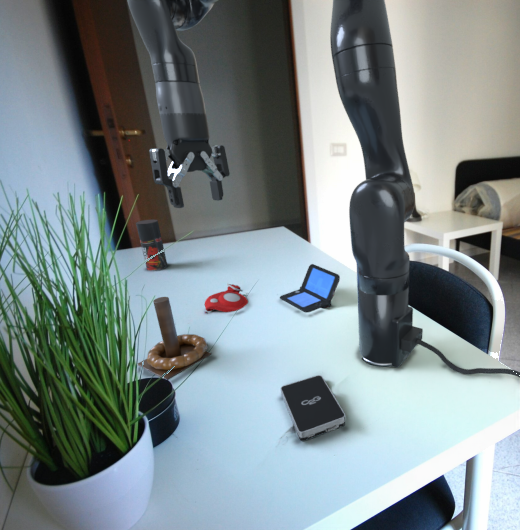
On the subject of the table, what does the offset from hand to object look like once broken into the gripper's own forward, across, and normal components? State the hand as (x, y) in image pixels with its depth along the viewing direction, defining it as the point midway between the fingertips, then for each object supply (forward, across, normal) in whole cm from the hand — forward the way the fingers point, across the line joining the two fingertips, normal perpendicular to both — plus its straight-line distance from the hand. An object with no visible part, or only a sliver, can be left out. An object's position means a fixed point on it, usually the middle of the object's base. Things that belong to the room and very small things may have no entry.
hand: (199, 203), depth 71 cm
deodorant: (+28, +17, +52) cm, 61 cm away
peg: (+28, -13, -3) cm, 30 cm away
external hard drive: (+28, -10, -33) cm, 44 cm away
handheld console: (+28, +20, -8) cm, 35 cm away
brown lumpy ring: (+25, -12, -3) cm, 28 cm away
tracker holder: (+28, +10, +8) cm, 30 cm away
